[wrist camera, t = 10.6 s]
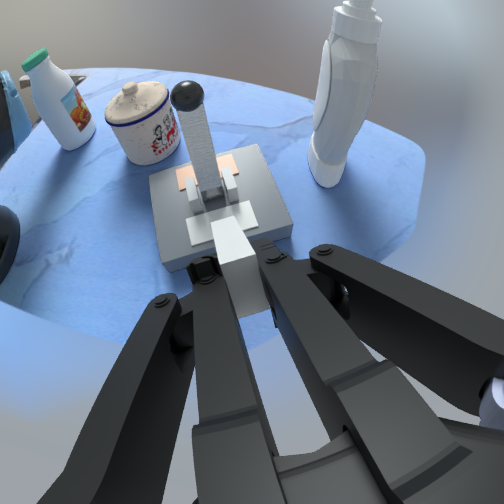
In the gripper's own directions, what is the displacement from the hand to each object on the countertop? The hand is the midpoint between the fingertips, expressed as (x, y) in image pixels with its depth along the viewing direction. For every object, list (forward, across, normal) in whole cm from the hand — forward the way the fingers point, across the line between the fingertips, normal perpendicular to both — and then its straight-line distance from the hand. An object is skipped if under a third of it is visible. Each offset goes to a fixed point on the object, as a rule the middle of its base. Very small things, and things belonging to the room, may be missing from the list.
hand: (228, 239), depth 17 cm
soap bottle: (+19, +15, +1) cm, 24 cm away
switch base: (+16, 0, -2) cm, 16 cm away
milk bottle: (+34, -21, +16) cm, 43 cm away
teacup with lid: (+28, -6, +10) cm, 30 cm away
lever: (+13, 0, +1) cm, 13 cm away
